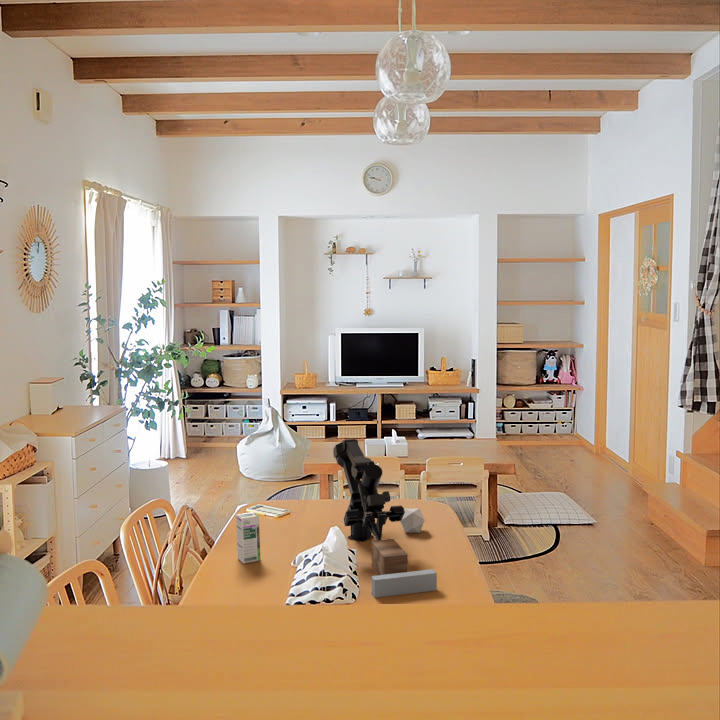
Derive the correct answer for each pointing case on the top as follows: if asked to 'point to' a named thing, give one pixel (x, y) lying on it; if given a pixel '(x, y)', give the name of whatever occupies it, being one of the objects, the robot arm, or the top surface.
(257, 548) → the syrup box
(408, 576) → the board
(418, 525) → the die
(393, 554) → the walnut block
